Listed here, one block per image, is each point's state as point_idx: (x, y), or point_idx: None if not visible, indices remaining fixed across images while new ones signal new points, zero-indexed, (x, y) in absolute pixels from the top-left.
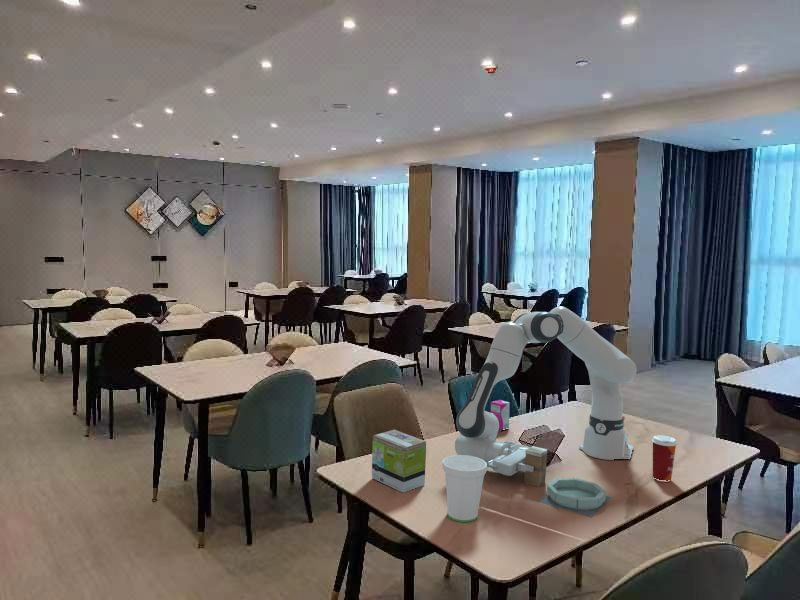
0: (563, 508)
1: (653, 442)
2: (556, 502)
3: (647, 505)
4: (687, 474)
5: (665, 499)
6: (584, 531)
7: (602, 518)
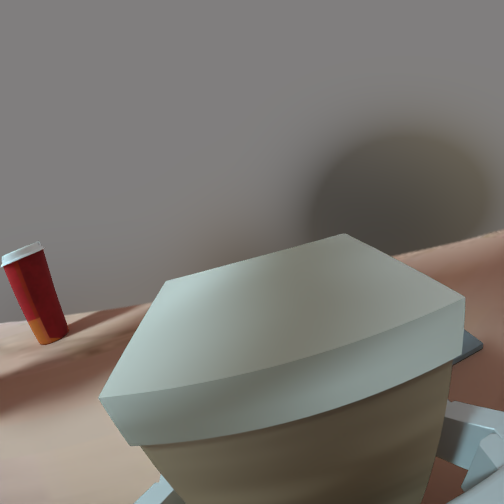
0: None
1: (20, 260)
2: None
3: None
4: (28, 330)
5: None
6: (441, 254)
7: None
